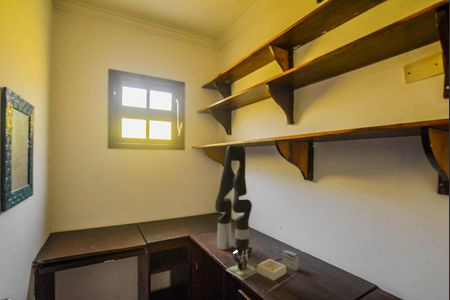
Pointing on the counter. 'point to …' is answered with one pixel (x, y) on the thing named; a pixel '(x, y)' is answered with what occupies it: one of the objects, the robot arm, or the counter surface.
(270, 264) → the cream square tray
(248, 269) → the lid
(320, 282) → the counter surface
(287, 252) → the medicine box
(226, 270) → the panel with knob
